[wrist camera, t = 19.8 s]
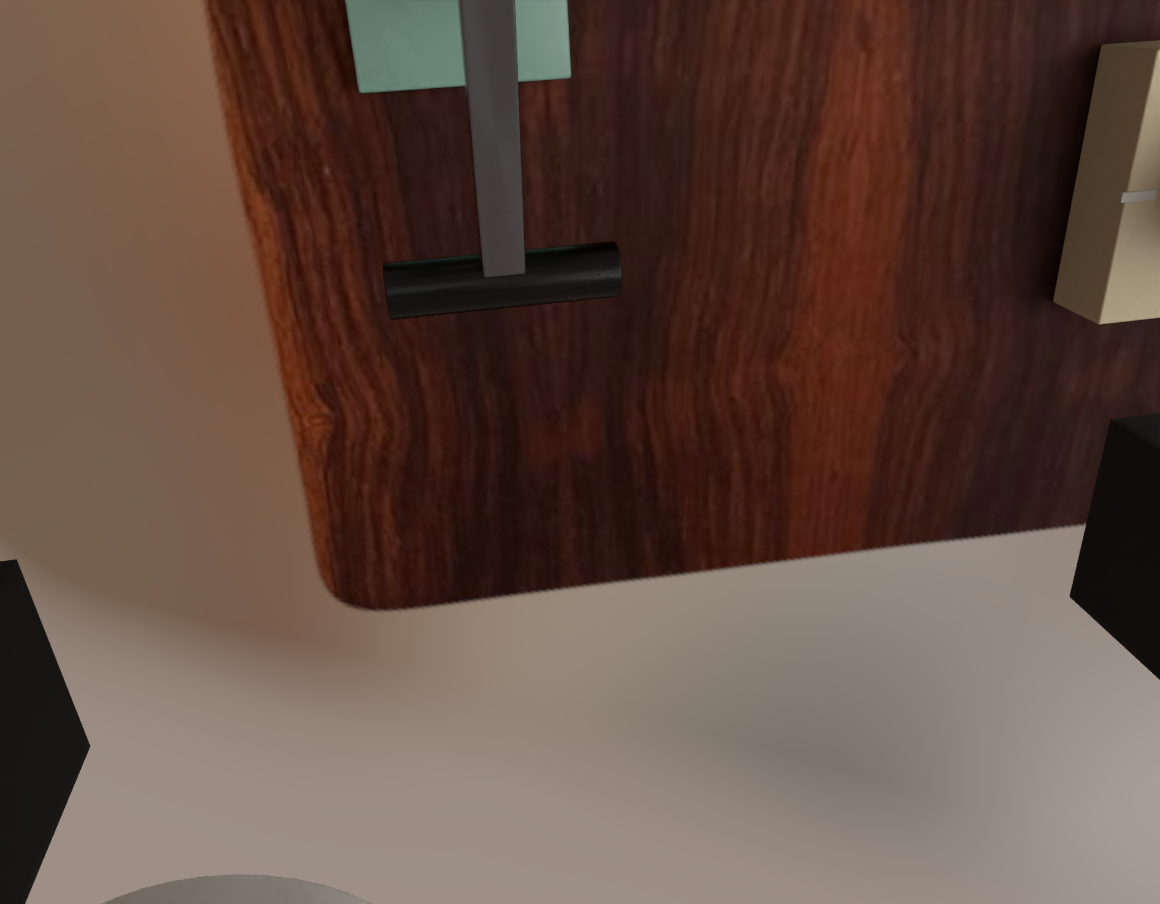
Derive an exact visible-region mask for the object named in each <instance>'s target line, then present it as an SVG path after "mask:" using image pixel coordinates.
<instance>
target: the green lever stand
mask: <svg viewBox="0 0 1160 904" xmlns="http://www.w3.org/2000/svg"><path fill="white" fill-rule="evenodd" d="M345 5H346V11H347V18H348V24H349V31H350V38H351V44H352V51H353V58H354V64H355V71H356V77H357V84H358V90H359V92H360V93H373V92H387V91H401V90H415V89H429V88H442V87H456V86H465V82H464V70H463V58H462V46H461V35H460V23H459V11H458V0H345ZM515 12H516V37H517V61H518V82H525V81H539V80H553V79H567V78H570V77H571V64H570V45H569V26H568V7H567V0H515Z"/></svg>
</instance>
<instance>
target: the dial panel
mask: <svg viewBox="0 0 1160 904" xmlns="http://www.w3.org/2000/svg"><path fill="white" fill-rule="evenodd" d="M1053 302H1054V303H1056V304H1058V305H1061V306H1063V307H1065V308H1067V309H1069V310H1071V311H1073V312H1075V313H1077V314H1079V315H1081V316H1083V317H1085V318H1087V319H1089V320H1091V321H1093V322H1095V323H1097V324H1107V323H1115V322H1124V321H1133V320H1142V319H1151V318H1159V317H1160V40H1158V41H1144V42H1130V43H1117V44H1104V45H1102V46H1101V50H1100V55H1099V60H1098V65H1097V71H1096V76H1095V81H1094V87H1093V92H1092V97H1091V103H1090V108H1089V113H1088V119H1087V124H1086V129H1085V134H1084V140H1083V145H1082V150H1081V156H1080V161H1079V166H1078V172H1077V177H1076V182H1075V187H1074V193H1073V198H1072V203H1071V209H1070V214H1069V219H1068V225H1067V230H1066V235H1065V241H1064V246H1063V251H1062V256H1061V262H1060V267H1059V272H1058V278H1057V283H1056V288H1055V294H1054V299H1053Z"/></svg>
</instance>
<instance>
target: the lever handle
mask: <svg viewBox="0 0 1160 904" xmlns="http://www.w3.org/2000/svg"><path fill="white" fill-rule="evenodd" d="M458 11H459V23H460V35H461V46H462V58H463V70H464V82H465V93H466V105H467V117H468V129H469V140H470V152H471V164H472V176H473V187H474V199H475V211H476V223H477V234H478V246H479V254H473V255H462V256H452V257H441V258H431V259H420V260H410V261H399V262H389V263H384V264H383V278H384V287H385V295H386V301H387V307H388V313H389V317H390V319H392V320H395V319H405V318H415V317H424V316H434V315H444V314H454V313H463V312H473V311H483V310H493V309H503V308H512V307H522V306H532V305H542V304H551V303H561V302H571V301H581V300H590V299H600V298H610V297H618V296H620V294H621V290H622V267H621V259H620V254H619V250H618V247H617V244H616V243H615V242H614V241H610V242H599V243H589V244H578V245H568V246H557V247H547V248H536V249H526V250H525V231H524V207H523V182H522V158H521V134H520V109H519V85H518V61H517V37H516V12H515V0H458Z"/></svg>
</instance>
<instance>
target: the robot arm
mask: <svg viewBox="0 0 1160 904" xmlns="http://www.w3.org/2000/svg"><path fill="white" fill-rule="evenodd" d="M1070 597H1071V598H1072V599H1073V600H1074V601H1075V602H1076V603H1077V604H1078V605H1079V606H1080V607H1081V608H1083V609H1084V610H1085V611H1086V612H1087V613H1088V614H1089V615H1090V616H1091V617H1092V618H1093V619H1094V620H1096V621H1097V622H1098V623H1099V624H1100V625H1101V626H1102V627H1103V628H1104V629H1105V630H1106V631H1107V632H1109V633H1110V634H1111V635H1112V636H1113V637H1114V638H1115V639H1116V640H1117V641H1118V642H1119V643H1120V644H1121V645H1123V646H1124V647H1125V648H1126V649H1127V650H1128V651H1129V652H1130V653H1131V654H1132V655H1133V656H1135V657H1136V658H1137V659H1138V660H1139V661H1140V662H1141V663H1142V664H1143V665H1144V666H1145V667H1146V668H1148V669H1149V670H1150V671H1151V672H1152V673H1153V674H1154V675H1155V676H1156V677H1157V678H1158V679H1160V413H1158V414H1150V415H1142V416H1135V417H1127V418H1119V419H1111V420H1110V424H1109V429H1108V433H1107V437H1106V442H1105V446H1104V450H1103V454H1102V459H1101V463H1100V467H1099V472H1098V476H1097V480H1096V485H1095V489H1094V493H1093V498H1092V502H1091V506H1090V510H1089V515H1088V519H1087V523H1086V528H1085V532H1084V536H1083V541H1082V545H1081V549H1080V554H1079V558H1078V562H1077V567H1076V571H1075V576H1074V580H1073V584H1072V588H1071V592H1070ZM89 748H90V744H89V742H88V739H87V736H86V734H85V731H84V729H83V727H82V724H81V721H80V719H79V716H78V714H77V711H76V709H75V706H74V704H73V701H72V698H71V696H70V694H69V691H68V688H67V686H66V683H65V681H64V678H63V676H62V673H61V671H60V668H59V666H58V663H57V661H56V658H55V655H54V653H53V650H52V648H51V645H50V643H49V640H48V638H47V635H46V633H45V630H44V628H43V625H42V623H41V620H40V618H39V615H38V612H37V610H36V607H35V605H34V602H33V600H32V597H31V595H30V592H29V590H28V587H27V585H26V582H25V579H24V577H23V574H22V572H21V569H20V567H19V564H18V562H17V560H8V561H0V904H25V902H26V900H27V898H28V895H29V893H30V890H31V888H32V886H33V883H34V881H35V878H36V876H37V873H38V871H39V869H40V866H41V864H42V861H43V859H44V857H45V854H46V852H47V849H48V847H49V844H50V842H51V840H52V837H53V835H54V833H55V830H56V828H57V825H58V823H59V820H60V818H61V816H62V813H63V811H64V808H65V806H66V804H67V801H68V799H69V796H70V794H71V792H72V789H73V787H74V784H75V782H76V780H77V777H78V775H79V772H80V770H81V767H82V765H83V762H84V760H85V758H86V755H87V753H88V751H89Z"/></svg>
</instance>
